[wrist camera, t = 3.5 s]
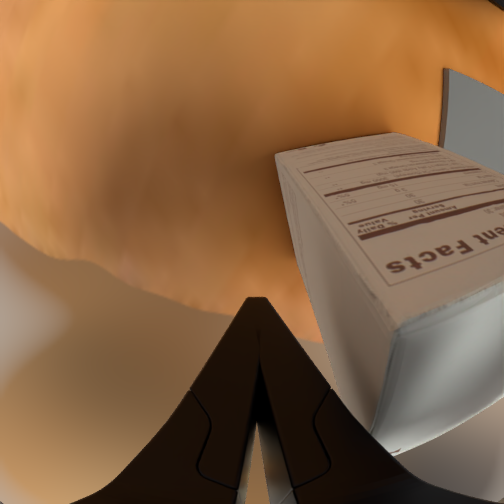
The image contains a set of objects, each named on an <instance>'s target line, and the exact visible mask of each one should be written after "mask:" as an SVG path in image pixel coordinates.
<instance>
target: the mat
mask: <svg viewBox="0 0 504 504" xmlns="http://www.w3.org/2000/svg"><path fill="white" fill-rule="evenodd" d="M438 147H441V148H444V149H446V150H449V151H451V152H454V153H456V154H458V155H461V156H463V157H466V158H468V159H470V160H473V161H475V162H477V163H479V164H481V165H483V166H486V167H488V168H490V169H492V170H494V171H496V172H499V173H501V174H503V175H504V94H502V93H500V92H498V91H496V90H495V89H493V88H491V87H489V86H487V85H485V84H483V83H481V82H479V81H477V80H474V79H472V78H470V77H468V76H466V75H463V74H461V73H459V72H456V71H454V70H451V69H444V88H443V107H442V119H441V130H440V138H439V146H438Z"/></svg>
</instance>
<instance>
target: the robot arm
mask: <svg viewBox="0 0 504 504" xmlns="http://www.w3.org/2000/svg"><path fill="white" fill-rule="evenodd" d="M489 1H491V2H492V3H494V4H495V5H497V6H498V7H500V8H501V9H502V10H504V0H489ZM330 388H331V386H330V385H329V383H328V382H327V381H326V379H325V378H324V377H323V375H322V374H321V372H320V371H319V370H318V368H317V367H316V366H315V365H314V363H313V361H312V360H311V359H310V357H309V356H308V355H307V353H306V352H305V351H304V349H303V348H302V347H301V345H300V344H299V342H298V341H297V339H296V338H295V337H294V335H293V334H292V332H291V331H290V330H289V328H288V327H287V326H286V324H285V323H284V321H283V320H282V319H281V317H280V316H279V314H278V313H277V312H276V310H275V309H274V307H273V306H272V305H271V303H270V302H269V300H268V299H267V298H266V297H247V298H246V300H245V301H244V303H243V304H242V306H241V308H240V309H239V311H238V312H237V314H236V316H235V317H234V319H233V321H232V322H231V324H230V325H229V327H228V329H227V330H226V332H225V334H224V335H223V337H222V338H221V340H220V341H219V343H218V345H217V346H216V348H215V349H214V351H213V352H212V354H211V356H210V357H209V359H208V360H207V362H206V363H205V365H204V367H203V368H202V370H201V371H200V373H199V375H198V376H197V378H196V379H195V381H194V382H193V384H192V385H191V387H190V390H189V391H187V393H186V394H185V396H184V398H183V399H182V401H181V402H180V404H179V405H178V406H177V408H176V409H175V411H174V412H173V413H172V415H171V416H170V418H169V419H168V420H167V422H166V423H165V424H164V425H163V426H162V428H161V429H160V430H159V431H158V432H157V434H156V435H155V436H154V437H153V438H152V439H151V441H150V442H149V443H148V444H147V445H146V446H145V447H144V448H143V449H142V451H141V452H140V453H139V454H138V455H137V456H136V457H135V458H134V459H133V460H132V461H131V462H130V464H128V466H127V467H126V468H125V469H124V470H123V471H122V472H121V473H120V474H119V475H118V476H117V477H116V478H115V479H114V480H113V481H111V482H110V483H109V484H108V485H106V486H105V487H104V488H102V489H101V490H99V491H97V492H95V493H93V494H92V495H89V496H87V497H85V498H82V499H80V500H78V501H75V502H73V503H70V504H245V499H246V492H247V487H248V480H249V473H250V467H251V459H252V452H253V445H254V438H255V431H256V423H257V426H258V432H259V438H260V445H261V451H262V458H263V464H264V470H265V477H266V482H267V488H268V494H269V501H270V504H504V498H503V499H501V500H500V501H499V502H492V501H488V500H483V499H479V498H475V497H471V496H467V495H464V494H460V493H456V492H453V491H450V490H447V489H443V488H441V487H437V486H435V485H432V484H429V483H427V482H425V481H423V480H421V479H419V478H418V477H416V476H414V475H413V474H412V473H411V472H409V471H408V470H407V469H406V468H404V466H403V465H401V464H400V463H399V462H398V461H397V460H396V459H395V458H394V457H393V456H392V455H391V454H390V453H389V452H388V451H387V450H386V449H385V448H384V447H383V446H382V445H381V444H380V443H379V442H378V441H377V440H376V439H375V438H374V437H373V436H372V435H371V434H370V433H369V432H368V431H367V430H366V429H365V428H364V427H363V426H362V424H361V423H360V422H359V421H358V420H357V419H356V418H355V417H354V416H353V414H352V413H351V412H350V411H349V409H348V408H347V407H346V406H345V404H344V403H343V402H342V401H341V399H340V398H339V397H338V395H337V394H336V393H335V391H334V390H333V389H330ZM0 504H3V503H2V502H0Z"/></svg>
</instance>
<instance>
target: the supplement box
mask: <svg viewBox="0 0 504 504" xmlns="http://www.w3.org/2000/svg"><path fill="white" fill-rule="evenodd" d="M275 161H276V167H277V172H278V177H279V181H280V186H281V191H282V195H283V200H284V205H285V210H286V215H287V220H288V224H289V229H290V233H291V238H292V242H293V247H294V251H295V256H296V261H297V265H298V267H299V270H300V273H301V276H302V279H303V281H304V285H305V287H306V290H307V293H308V296H309V299H310V302H311V305H312V308H313V311H314V314H315V317H316V320H317V323H318V326H319V329H320V332H321V335H322V338H323V341H324V345H325V347H326V351H327V354H328V357H329V360H330V363H331V367H332V370H333V373H334V377H335V380H336V383H337V386H338V390H339V393H340V397H341V400H342V402H343V403H344V404H345V406H346V407H347V408H348V409H349V411H350V412H351V413H352V414H353V416H354V417H355V418H356V419H357V420H358V421H359V422H360V423H361V424H362V426H363V427H364V428H365V429H366V430H367V431H368V432H369V433H370V434H371V435H372V436H373V437H374V438H375V439H376V440H377V441H378V442H379V443H380V444H381V445H382V446H383V447H384V448H385V449H386V450H387V451H388V452H389V453H390V454H391V455H392V456H395V455H397V454H400V453H402V452H405V451H407V450H409V449H412V448H414V447H417V446H419V445H421V444H423V443H425V442H428V441H430V440H432V439H434V438H436V437H438V436H440V435H441V434H444V433H445V432H447V431H449V430H451V429H453V428H454V427H456V426H458V425H460V424H462V423H463V422H465V421H467V420H469V419H470V418H472V417H473V416H475V415H476V414H478V413H480V412H481V411H483V410H485V409H486V408H487V407H489V406H491V405H492V404H494V403H495V402H497V401H498V400H499V399H501V398H502V397H504V175H503V174H501V173H499V172H496V171H494V170H492V169H490V168H488V167H486V166H483V165H481V164H479V163H477V162H475V161H473V160H470V159H468V158H466V157H463V156H461V155H458V154H456V153H454V152H451V151H449V150H446V149H444V148H441V147H438V146H436V145H433V144H430V143H427V142H424V141H421V140H418V139H416V138H413V137H410V136H407V135H403V134H400V133H396V132H393V133H387V134H380V135H373V136H366V137H359V138H353V139H347V140H341V141H335V142H329V143H324V144H318V145H313V146H308V147H303V148H299V149H294V150H289V151H284V152H280V153H277V154H275Z"/></svg>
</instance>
